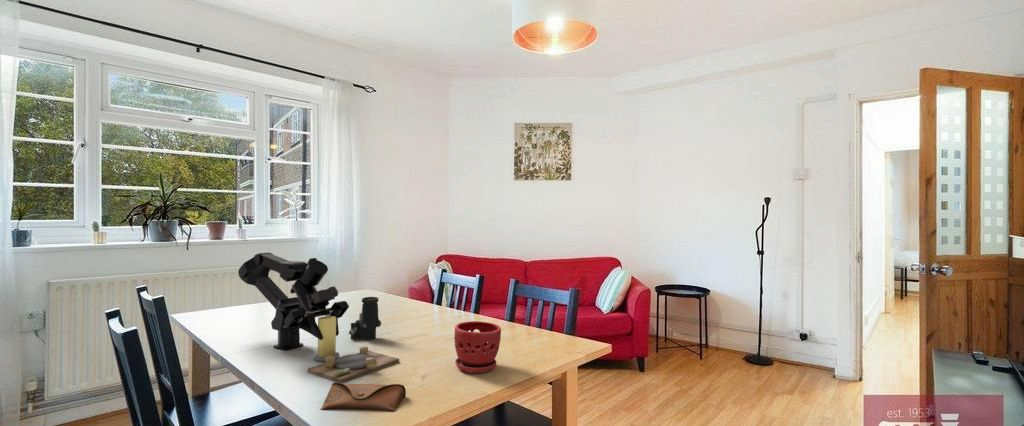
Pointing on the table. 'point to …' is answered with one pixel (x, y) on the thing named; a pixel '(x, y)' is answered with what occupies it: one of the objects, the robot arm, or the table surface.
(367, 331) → the scope
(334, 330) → the yellow pillar candle
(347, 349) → the table surface
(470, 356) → the plant pot
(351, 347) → the table surface
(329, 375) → the board
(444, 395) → the table surface
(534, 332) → the table surface
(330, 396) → the sunglasses case
